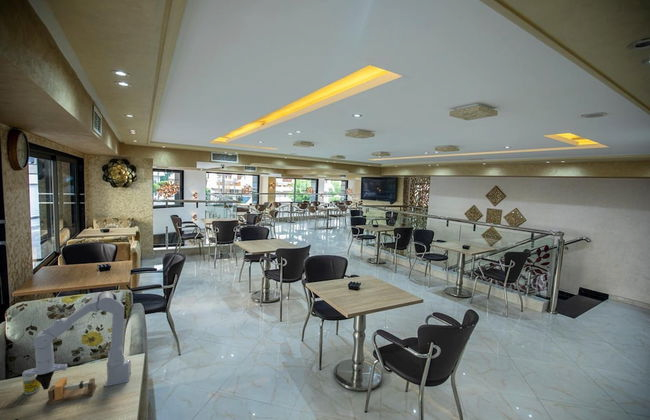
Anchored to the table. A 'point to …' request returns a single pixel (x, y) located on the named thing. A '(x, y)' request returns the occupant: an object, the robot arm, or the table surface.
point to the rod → (75, 385)
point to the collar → (60, 388)
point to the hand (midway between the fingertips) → (46, 387)
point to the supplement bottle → (31, 384)
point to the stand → (72, 393)
